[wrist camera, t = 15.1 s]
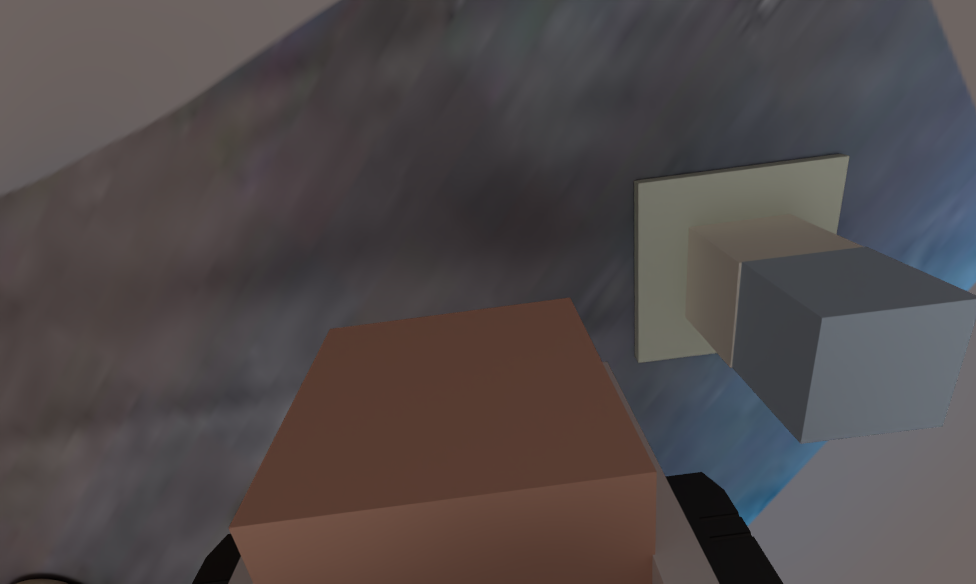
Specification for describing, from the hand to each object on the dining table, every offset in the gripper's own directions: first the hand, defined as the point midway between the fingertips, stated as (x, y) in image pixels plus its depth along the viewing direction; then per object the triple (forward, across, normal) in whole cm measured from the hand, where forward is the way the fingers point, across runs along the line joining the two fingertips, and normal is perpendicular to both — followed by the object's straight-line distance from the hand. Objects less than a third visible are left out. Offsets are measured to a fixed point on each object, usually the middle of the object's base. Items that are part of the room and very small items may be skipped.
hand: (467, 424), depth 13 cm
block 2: (+18, -16, +4) cm, 24 cm away
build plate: (+18, -16, +4) cm, 25 cm away
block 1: (0, 0, 0) cm, 0 cm away
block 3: (+12, -16, +4) cm, 20 cm away
